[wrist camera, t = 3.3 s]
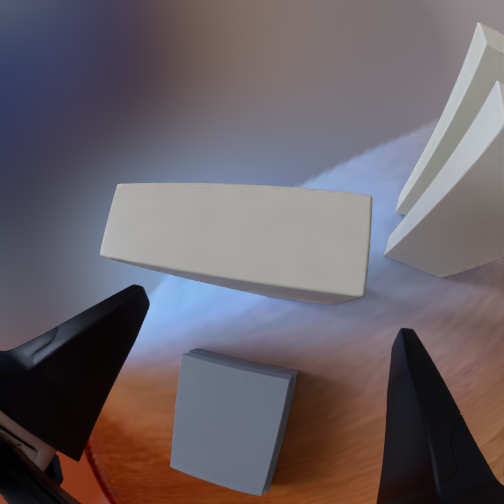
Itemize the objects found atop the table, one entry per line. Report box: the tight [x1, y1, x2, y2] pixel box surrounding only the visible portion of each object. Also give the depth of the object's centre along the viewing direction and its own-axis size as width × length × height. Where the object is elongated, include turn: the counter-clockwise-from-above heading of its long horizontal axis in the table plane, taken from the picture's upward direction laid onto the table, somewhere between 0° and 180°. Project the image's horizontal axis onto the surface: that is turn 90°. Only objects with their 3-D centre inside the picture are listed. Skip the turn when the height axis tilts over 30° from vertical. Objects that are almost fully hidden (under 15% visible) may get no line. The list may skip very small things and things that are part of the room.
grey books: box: [170, 349, 298, 496], centre depth 18 cm, size 11×8×3 cm
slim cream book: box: [100, 183, 372, 305], centre depth 12 cm, size 2×5×16 cm, turn 81°
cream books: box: [384, 22, 504, 278], centre depth 11 cm, size 5×5×16 cm
